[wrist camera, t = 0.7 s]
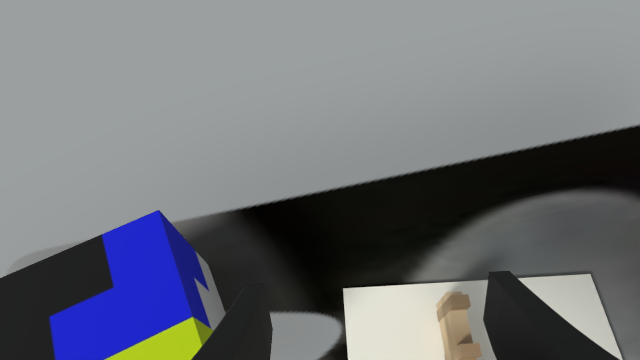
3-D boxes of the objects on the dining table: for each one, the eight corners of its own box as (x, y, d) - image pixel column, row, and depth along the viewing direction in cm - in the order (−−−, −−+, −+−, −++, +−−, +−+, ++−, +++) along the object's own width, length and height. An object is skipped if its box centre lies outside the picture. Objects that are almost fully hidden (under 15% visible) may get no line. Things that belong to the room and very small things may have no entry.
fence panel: (474, 421, 26) (496, 421, 22) (456, 422, 26) (475, 423, 22) (451, 303, 29) (466, 287, 26) (435, 304, 29) (448, 288, 26)
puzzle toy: (208, 265, 33) (158, 210, 24) (254, 393, 28) (213, 383, 19) (81, 324, 31) (-23, 287, 22) (107, 472, 26) (-11, 499, 17)
